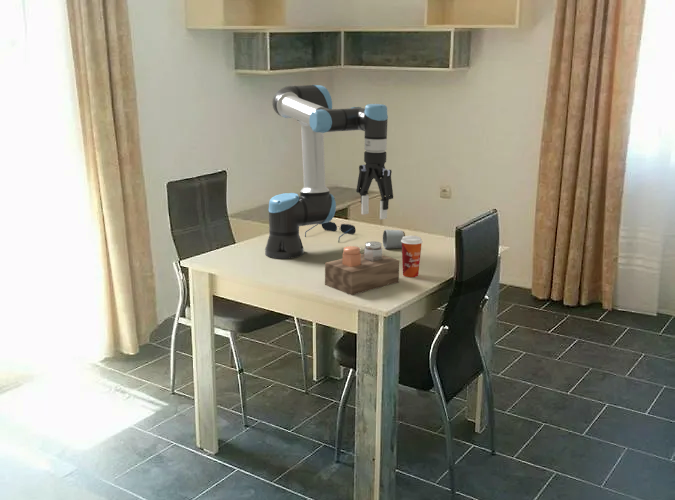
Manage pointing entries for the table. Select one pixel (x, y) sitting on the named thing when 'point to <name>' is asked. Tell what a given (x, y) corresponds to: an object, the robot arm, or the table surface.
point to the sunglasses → (332, 227)
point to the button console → (361, 275)
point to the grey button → (373, 251)
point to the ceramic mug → (392, 238)
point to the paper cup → (411, 255)
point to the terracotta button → (351, 256)
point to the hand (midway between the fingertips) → (374, 216)
